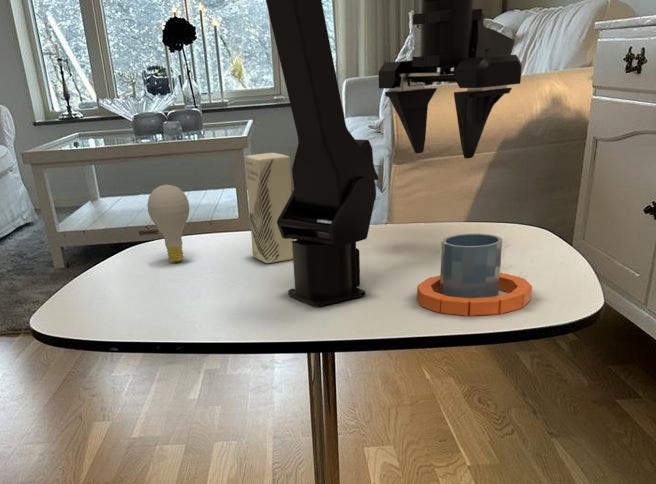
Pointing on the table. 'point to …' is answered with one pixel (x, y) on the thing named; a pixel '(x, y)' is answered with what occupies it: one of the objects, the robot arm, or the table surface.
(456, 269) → the cup
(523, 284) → the ring
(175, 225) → the light bulb
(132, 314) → the table surface
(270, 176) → the box
